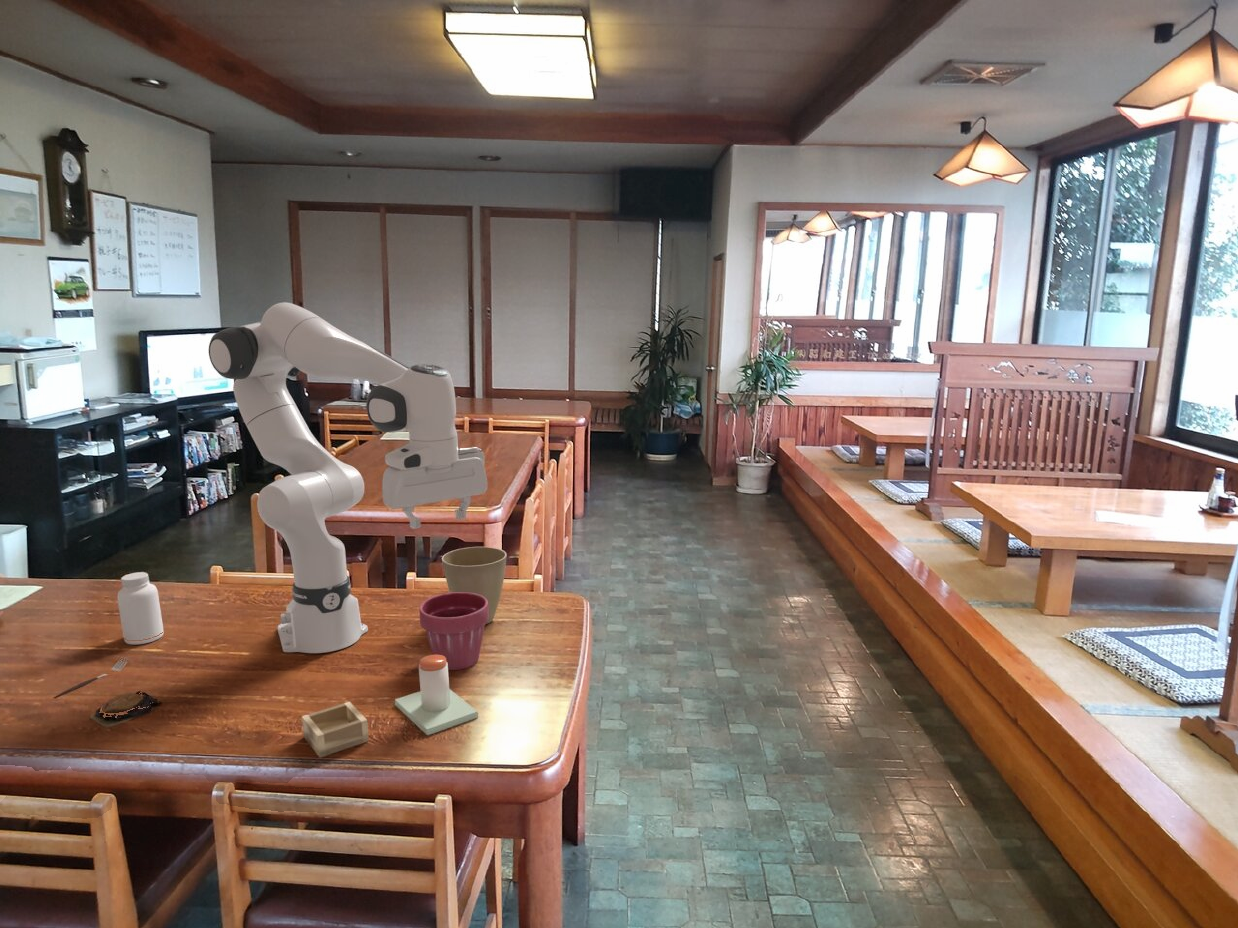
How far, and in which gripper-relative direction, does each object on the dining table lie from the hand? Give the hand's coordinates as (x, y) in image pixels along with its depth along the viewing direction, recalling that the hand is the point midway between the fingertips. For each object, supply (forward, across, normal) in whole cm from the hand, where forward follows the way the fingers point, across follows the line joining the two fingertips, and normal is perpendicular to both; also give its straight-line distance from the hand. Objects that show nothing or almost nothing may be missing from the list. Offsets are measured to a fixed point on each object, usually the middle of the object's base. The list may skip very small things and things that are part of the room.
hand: (438, 523), depth 160 cm
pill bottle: (+33, +44, -64) cm, 85 cm away
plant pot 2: (+33, -6, -8) cm, 35 cm away
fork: (+34, +56, -47) cm, 80 cm away
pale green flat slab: (+33, +7, +9) cm, 35 cm away
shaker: (+32, +7, +9) cm, 34 cm away
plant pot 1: (+33, -20, -25) cm, 46 cm away
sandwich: (+34, +52, -28) cm, 68 cm away
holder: (+33, +25, +7) cm, 42 cm away
